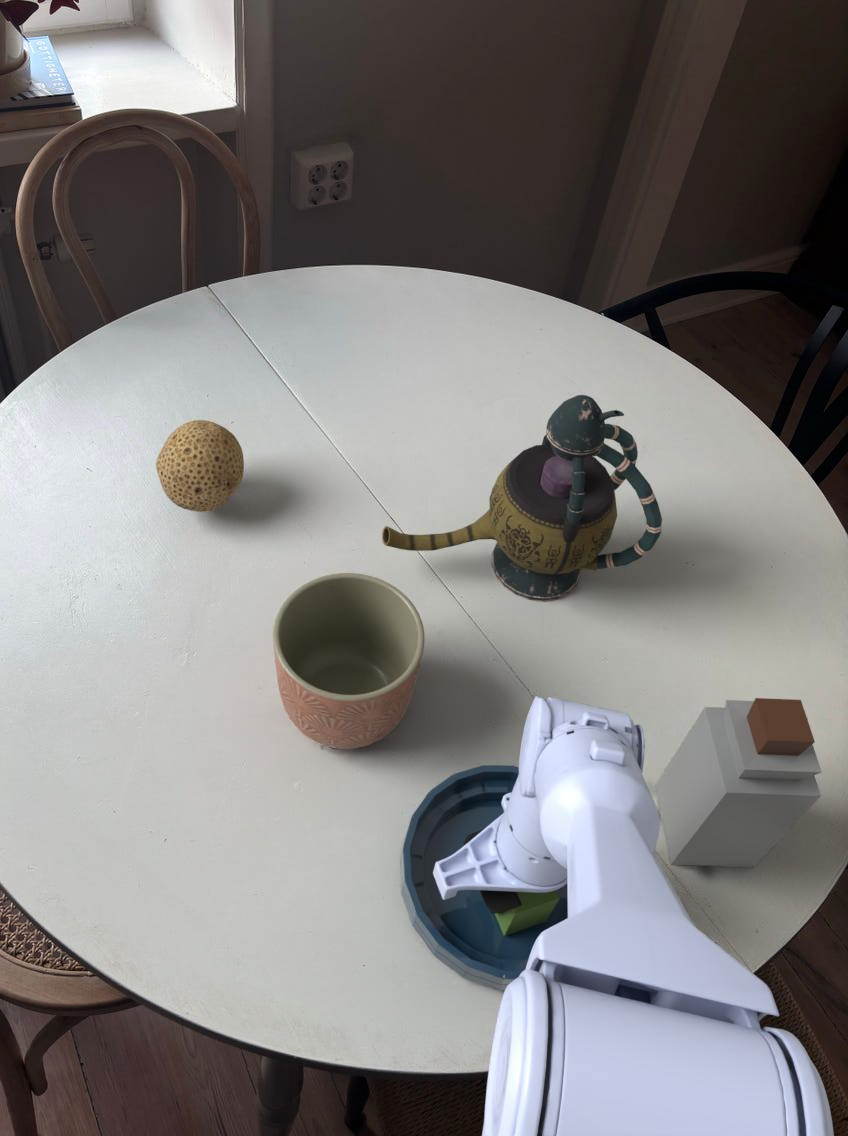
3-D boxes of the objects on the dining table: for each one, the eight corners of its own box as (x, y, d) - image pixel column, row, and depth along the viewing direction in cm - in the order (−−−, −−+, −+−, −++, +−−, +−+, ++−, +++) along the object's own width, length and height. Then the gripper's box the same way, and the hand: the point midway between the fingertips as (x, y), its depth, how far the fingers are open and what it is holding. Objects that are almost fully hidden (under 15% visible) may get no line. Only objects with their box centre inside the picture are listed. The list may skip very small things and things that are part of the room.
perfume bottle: (752, 867, 76) (848, 767, 63) (670, 864, 76) (749, 763, 62) (732, 788, 81) (817, 679, 67) (654, 785, 80) (725, 675, 67)
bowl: (641, 950, 71) (654, 935, 69) (445, 1024, 67) (451, 1012, 65) (548, 761, 81) (556, 742, 79) (372, 815, 77) (374, 797, 75)
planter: (393, 781, 79) (403, 718, 71) (255, 741, 81) (250, 675, 73) (427, 661, 87) (439, 592, 79) (301, 627, 89) (301, 557, 81)
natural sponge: (251, 528, 97) (247, 462, 90) (164, 539, 96) (152, 472, 88) (241, 466, 103) (236, 398, 96) (159, 475, 102) (147, 407, 94)
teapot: (635, 611, 93) (711, 445, 75) (384, 617, 90) (403, 448, 73) (606, 518, 101) (669, 349, 83) (375, 522, 99) (390, 350, 81)
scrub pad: (546, 921, 72) (559, 898, 68) (503, 936, 71) (514, 914, 67) (519, 859, 75) (530, 834, 71) (477, 873, 74) (487, 848, 70)
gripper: (617, 734, 66) (575, 814, 76) (425, 793, 62) (408, 869, 72) (669, 828, 61) (618, 900, 71) (466, 898, 58) (442, 963, 68)
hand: (515, 890), depth 72 cm, fingers closed on scrub pad, 3 cm apart
